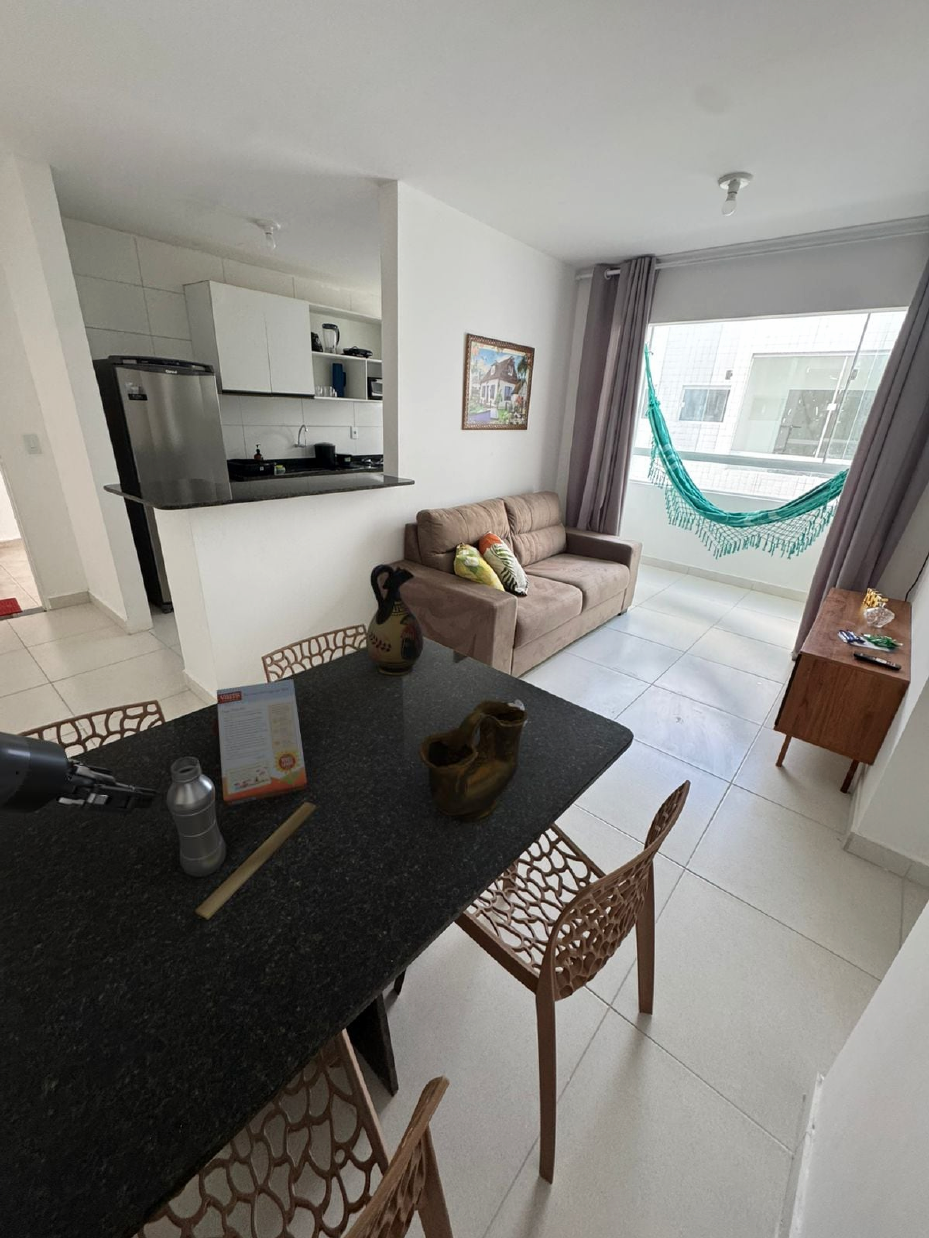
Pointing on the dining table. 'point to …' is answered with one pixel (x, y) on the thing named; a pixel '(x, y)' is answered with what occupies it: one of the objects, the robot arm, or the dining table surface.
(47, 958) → the dining table surface
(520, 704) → the elephant figurine
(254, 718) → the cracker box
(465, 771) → the pottery vessel
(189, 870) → the plastic bottle
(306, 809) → the strip
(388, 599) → the ceramic jug
